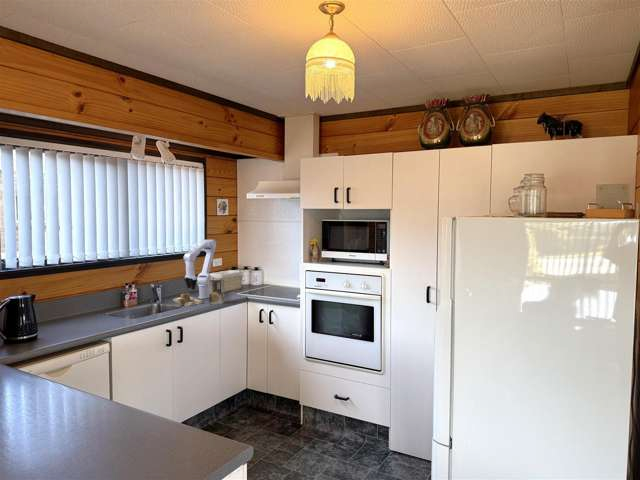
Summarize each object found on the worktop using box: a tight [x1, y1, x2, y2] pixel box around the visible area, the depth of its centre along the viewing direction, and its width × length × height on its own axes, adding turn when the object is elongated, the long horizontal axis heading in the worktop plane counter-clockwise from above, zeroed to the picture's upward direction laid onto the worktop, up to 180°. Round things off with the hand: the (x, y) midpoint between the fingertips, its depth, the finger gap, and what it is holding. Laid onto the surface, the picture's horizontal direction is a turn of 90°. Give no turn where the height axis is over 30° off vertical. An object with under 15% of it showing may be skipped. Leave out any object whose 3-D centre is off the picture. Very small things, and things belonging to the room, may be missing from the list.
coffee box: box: [208, 280, 226, 305], centre depth 311 cm, size 9×6×16 cm
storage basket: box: [209, 269, 243, 293], centre depth 362 cm, size 24×16×15 cm
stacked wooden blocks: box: [177, 292, 195, 306], centre depth 310 cm, size 10×5×7 cm, turn 128°
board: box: [172, 296, 204, 307], centre depth 317 cm, size 12×24×2 cm, turn 38°
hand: (191, 288), depth 318 cm, fingers open, 7 cm apart
